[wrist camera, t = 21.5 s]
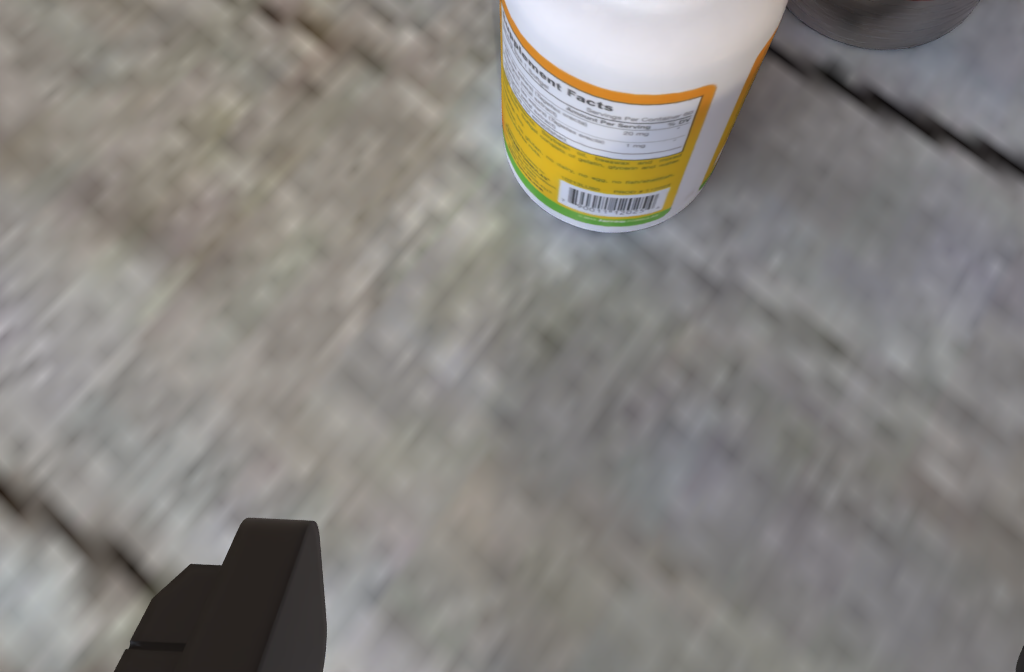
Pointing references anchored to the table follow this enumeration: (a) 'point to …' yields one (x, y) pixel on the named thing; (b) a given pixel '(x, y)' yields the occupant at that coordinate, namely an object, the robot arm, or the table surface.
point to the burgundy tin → (882, 20)
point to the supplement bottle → (625, 100)
